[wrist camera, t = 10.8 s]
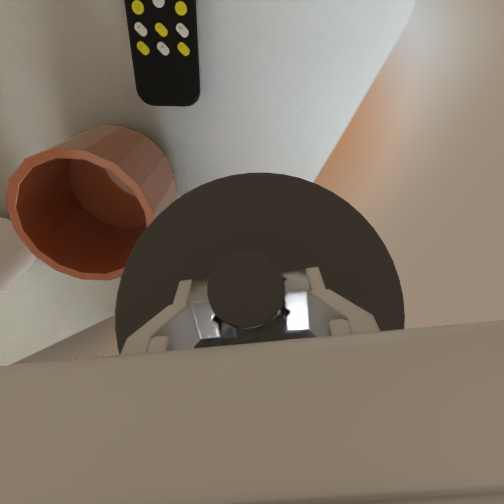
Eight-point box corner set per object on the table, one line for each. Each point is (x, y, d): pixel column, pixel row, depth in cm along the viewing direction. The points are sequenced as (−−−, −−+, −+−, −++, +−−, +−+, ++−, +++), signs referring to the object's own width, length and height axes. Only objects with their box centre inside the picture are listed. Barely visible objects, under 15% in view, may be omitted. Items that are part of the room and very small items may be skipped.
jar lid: (324, 520, 15) (354, 640, 9) (74, 365, 17) (-33, 378, 11) (438, 247, 17) (521, 199, 11) (206, 145, 20) (175, 61, 14)
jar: (157, 246, 44) (133, 297, 35) (54, 206, 41) (-1, 250, 32) (192, 156, 38) (174, 188, 29) (76, 103, 35) (16, 120, 26)
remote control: (142, 103, 36) (136, 106, 34) (121, -60, 29) (112, -67, 27) (202, 105, 36) (200, 107, 34) (194, -58, 29) (191, -65, 28)
